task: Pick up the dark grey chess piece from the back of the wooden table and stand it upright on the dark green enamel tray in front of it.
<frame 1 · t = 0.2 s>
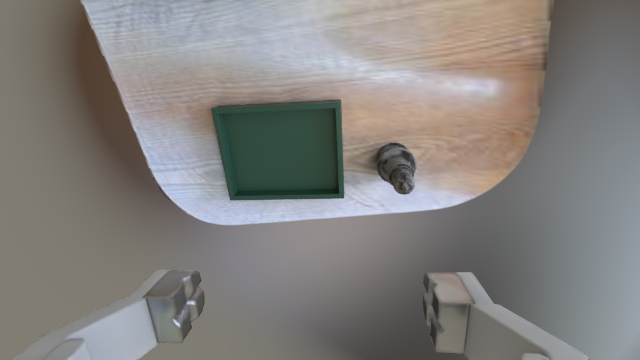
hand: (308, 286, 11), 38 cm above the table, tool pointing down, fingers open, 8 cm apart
tray: (283, 150, 50), on the table
dark grey chess piece: (393, 158, 49), on the table
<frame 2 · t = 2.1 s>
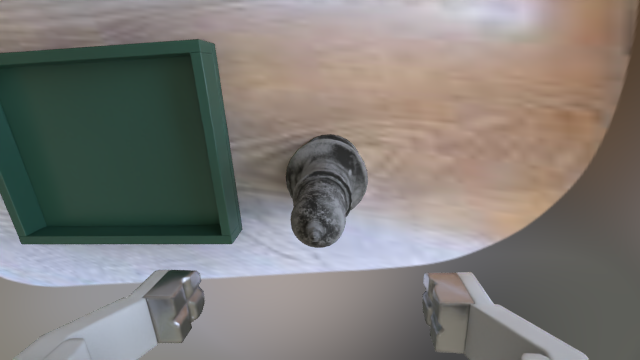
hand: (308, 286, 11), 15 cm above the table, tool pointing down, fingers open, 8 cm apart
tray: (120, 149, 26), on the table
dark grey chess piece: (329, 165, 25), on the table
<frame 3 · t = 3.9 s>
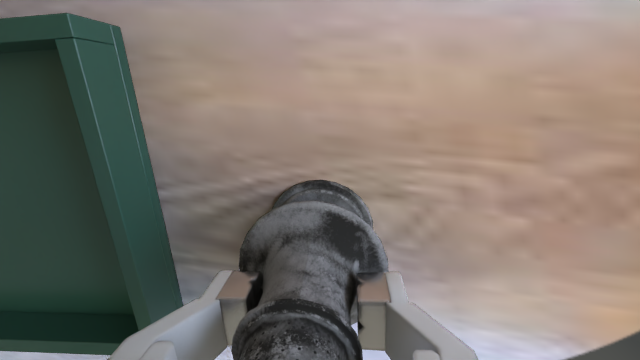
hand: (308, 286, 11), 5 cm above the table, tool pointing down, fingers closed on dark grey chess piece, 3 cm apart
dark grey chess piece: (320, 228, 15), on the table, touching gripper
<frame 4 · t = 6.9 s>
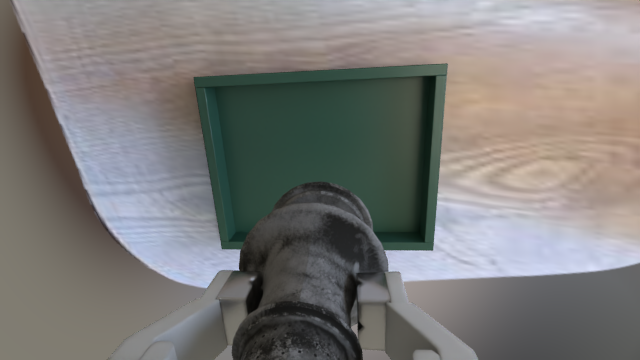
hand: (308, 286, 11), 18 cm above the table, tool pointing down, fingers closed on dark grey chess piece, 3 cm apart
tray: (322, 161, 28), on the table
dark grey chess piece: (320, 229, 15), point 13 cm above the table, touching gripper
when the fingers open (5 cm above the table, at t = 9.8 s): dark grey chess piece stays where it is, resting on tray.
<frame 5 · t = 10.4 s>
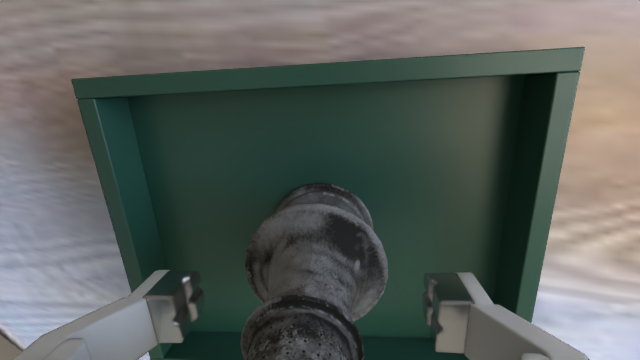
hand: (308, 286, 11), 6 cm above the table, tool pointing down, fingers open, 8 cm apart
tray: (321, 222, 16), on the table
dark grey chess piece: (322, 229, 16), resting on tray
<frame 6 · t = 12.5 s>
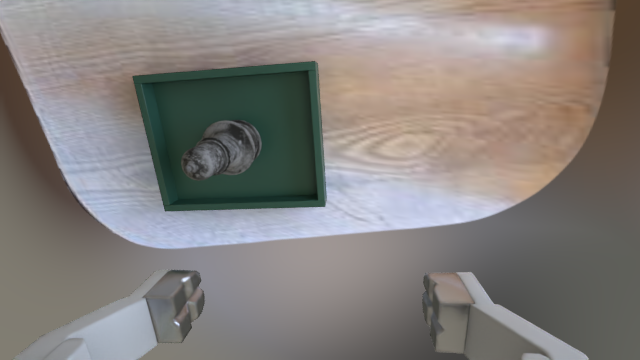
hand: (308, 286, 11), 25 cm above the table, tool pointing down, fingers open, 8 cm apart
tray: (240, 139, 35), on the table
dark grey chess piece: (240, 142, 35), resting on tray
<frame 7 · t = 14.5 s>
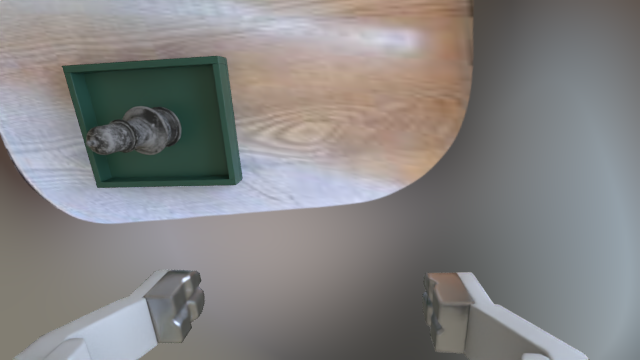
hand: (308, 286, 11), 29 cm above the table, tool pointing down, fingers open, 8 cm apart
tray: (164, 125, 40), on the table
dark grey chess piece: (163, 127, 39), resting on tray
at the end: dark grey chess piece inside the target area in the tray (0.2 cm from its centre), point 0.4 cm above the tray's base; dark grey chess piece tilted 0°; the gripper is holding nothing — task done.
